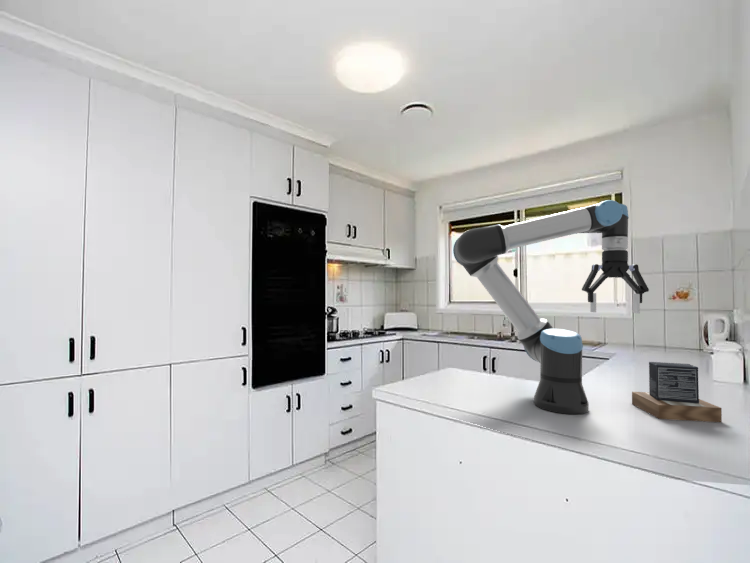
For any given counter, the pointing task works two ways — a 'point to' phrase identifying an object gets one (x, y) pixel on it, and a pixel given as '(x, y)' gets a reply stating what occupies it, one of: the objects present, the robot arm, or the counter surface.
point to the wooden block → (677, 408)
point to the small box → (673, 382)
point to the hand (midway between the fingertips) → (614, 312)
